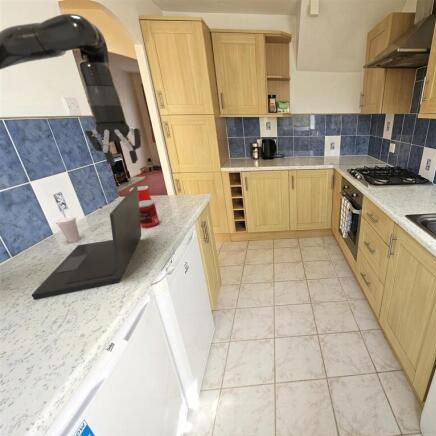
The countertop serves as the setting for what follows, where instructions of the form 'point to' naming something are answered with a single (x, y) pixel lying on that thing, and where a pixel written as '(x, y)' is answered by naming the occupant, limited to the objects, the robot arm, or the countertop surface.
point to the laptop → (82, 270)
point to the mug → (143, 193)
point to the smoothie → (68, 227)
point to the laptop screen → (125, 229)
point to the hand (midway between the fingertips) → (123, 163)
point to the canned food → (148, 214)
